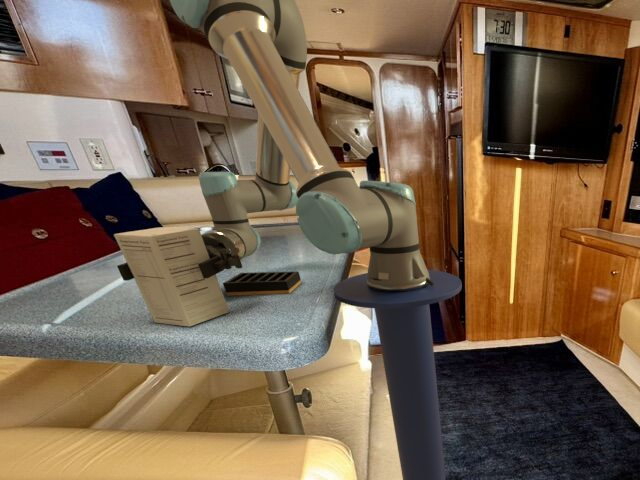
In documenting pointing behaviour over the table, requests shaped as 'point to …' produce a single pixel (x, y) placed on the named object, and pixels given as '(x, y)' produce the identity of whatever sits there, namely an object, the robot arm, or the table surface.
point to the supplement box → (172, 274)
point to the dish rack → (262, 283)
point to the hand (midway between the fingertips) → (163, 272)
